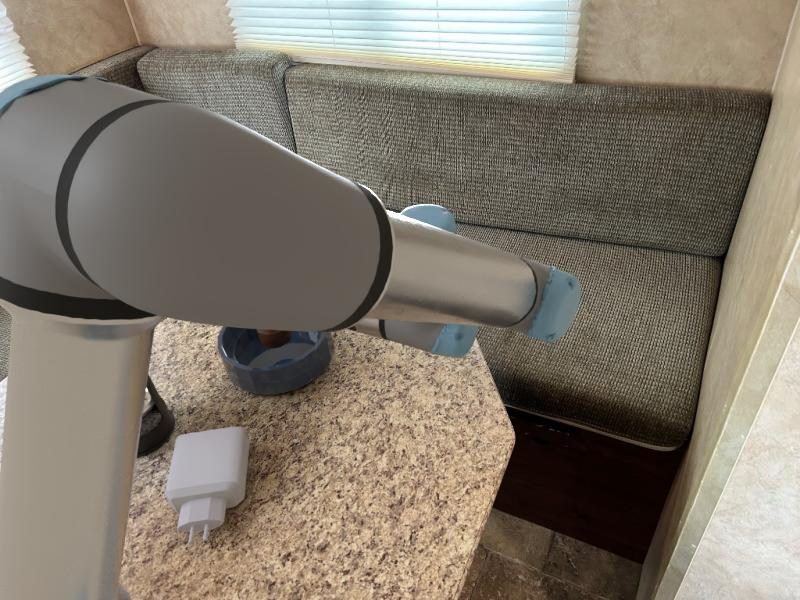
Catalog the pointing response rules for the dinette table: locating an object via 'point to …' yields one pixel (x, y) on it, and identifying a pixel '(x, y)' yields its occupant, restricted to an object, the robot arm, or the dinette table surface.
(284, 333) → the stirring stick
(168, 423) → the french press
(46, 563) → the robot arm
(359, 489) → the dinette table surface
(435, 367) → the dinette table surface
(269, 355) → the bowl
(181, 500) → the charger
